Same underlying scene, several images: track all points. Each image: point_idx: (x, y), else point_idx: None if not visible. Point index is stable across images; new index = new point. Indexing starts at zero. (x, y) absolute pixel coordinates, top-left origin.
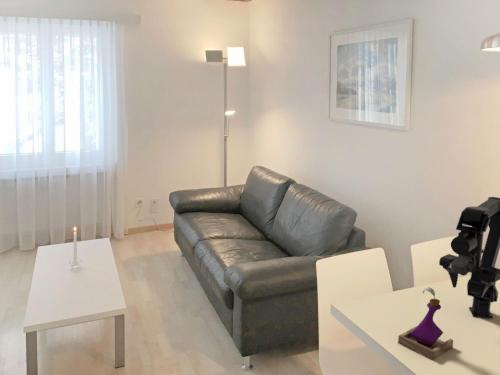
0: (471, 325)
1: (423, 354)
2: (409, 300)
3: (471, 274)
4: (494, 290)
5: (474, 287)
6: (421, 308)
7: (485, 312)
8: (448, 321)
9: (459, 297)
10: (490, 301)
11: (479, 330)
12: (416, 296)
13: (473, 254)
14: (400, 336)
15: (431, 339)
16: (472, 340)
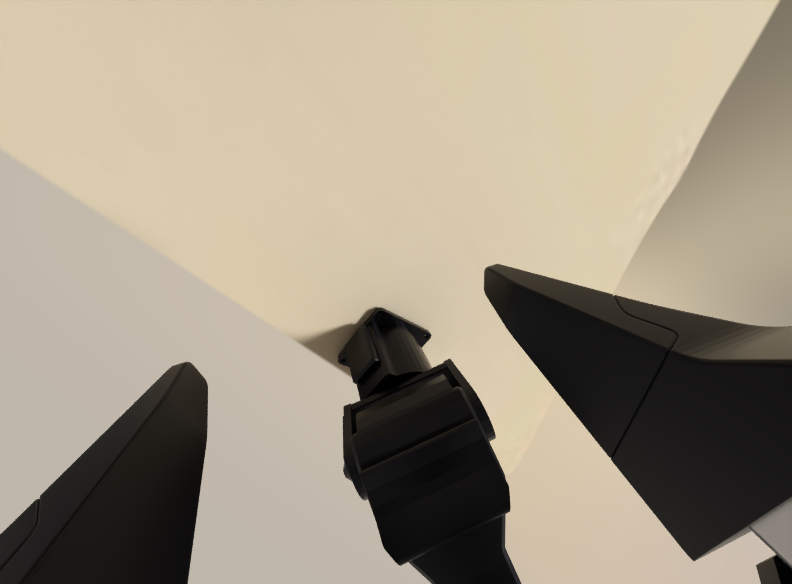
0: (324, 250)
1: None
2: (611, 169)
3: (503, 478)
4: (348, 473)
5: (431, 412)
6: (545, 159)
7: (352, 352)
8: (401, 179)
9: (492, 349)
10: (352, 405)
11: (271, 249)
12: (600, 224)
13: None
14: None
15: None
16: (175, 125)
